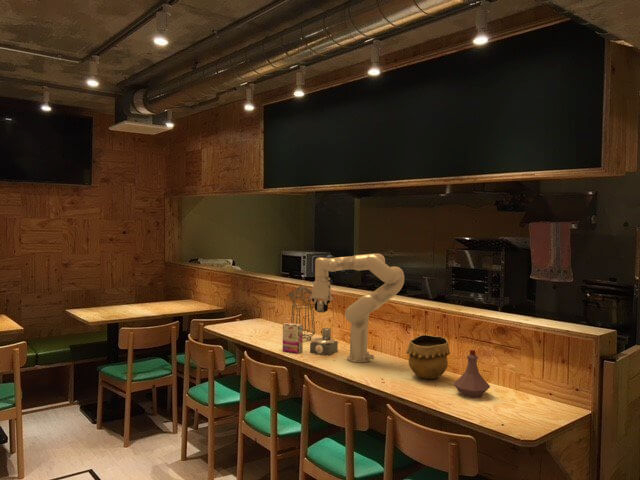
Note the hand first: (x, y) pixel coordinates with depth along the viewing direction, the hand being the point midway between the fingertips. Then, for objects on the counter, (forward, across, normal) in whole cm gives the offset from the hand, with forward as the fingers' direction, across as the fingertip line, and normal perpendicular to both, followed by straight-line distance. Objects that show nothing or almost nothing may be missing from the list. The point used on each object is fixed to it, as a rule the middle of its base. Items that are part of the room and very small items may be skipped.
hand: (321, 310), depth 303 cm
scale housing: (+25, 0, -6) cm, 26 cm away
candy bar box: (+26, +16, +3) cm, 31 cm away
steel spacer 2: (+18, 0, -8) cm, 20 cm away
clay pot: (+26, -66, +16) cm, 73 cm away
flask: (+26, -89, +31) cm, 98 cm away
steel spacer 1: (+1, 0, 0) cm, 1 cm away
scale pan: (+19, 0, -6) cm, 20 cm away
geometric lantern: (+26, +25, -27) cm, 45 cm away
